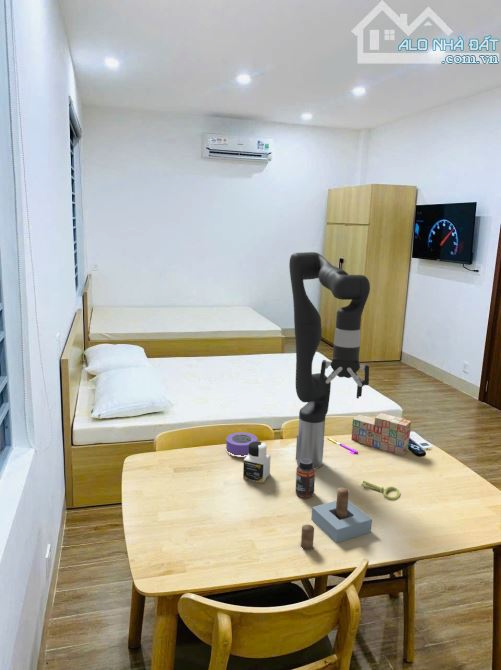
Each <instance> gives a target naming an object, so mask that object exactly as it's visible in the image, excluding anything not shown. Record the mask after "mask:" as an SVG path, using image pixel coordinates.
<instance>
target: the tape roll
mask: <svg viewBox="0 0 501 670" xmlns="http://www.w3.org/2000/svg"><path fill="white" fill-rule="evenodd" d="M225 439H226V444H225V445H226V447H225V448H226V449H227V451H228V452H230V453H232V454H234V455H241V456H244V455H248V450H249V444H250V443H251V442H255V441H258V437H257V436H256V435H255V434H252V433H249V432H233V433H230V434H229V435H227V436H226V438H225Z"/></svg>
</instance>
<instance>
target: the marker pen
mask: <svg viewBox="0 0 501 670" xmlns="http://www.w3.org/2000/svg"><path fill="white" fill-rule="evenodd" d="M326 438H327V437H326ZM327 440H328V441H330V442H332V443H333V444H338V445H339V446H340V447H342V448H344V449H346V450H348V451H349V452H348V453H349V454H351V455H355V454H356V455H358V454H359V451H358V450H356V449H354V448H351V447H349V446H347V445H345V444H343V443H339V442H338V441H337V440H335V439H333V438H330V437H328V438H327Z"/></svg>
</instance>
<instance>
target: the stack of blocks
mask: <svg viewBox="0 0 501 670" xmlns="http://www.w3.org/2000/svg"><path fill="white" fill-rule="evenodd" d="M411 426H412V421H411V420H408V419H404V418H402V417H398V416H394V415H389V414H385V413H382V412H380V413H379V414H378V415H376V416H375V417H374V418H373V417H369V416H365V415H362V414H358V415H357V416H355V417H353V418H352V426H351V427H352V429H351V441H354V442H357V443H360V444H363V445H366V446H370V447H373V448H376V449H380V450H382V451H383V450H384V451H386V452H390V453H393V454H396V455H399V456H403V455H405V454H406V452H407V451H409V443H410V435H411V428H412V427H411Z"/></svg>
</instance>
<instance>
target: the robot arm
mask: <svg viewBox="0 0 501 670" xmlns="http://www.w3.org/2000/svg"><path fill="white" fill-rule="evenodd" d="M289 277H290V283H291V284H290V285H291V290H292V291H291V293H292V298H293V299H292V301H293V303H292V304H293V321H294V323H293V325H294V338H295V353H296V354H295V355H296V356H295V359H296V361H295V391H296V395H297V398H298V399H299V401H300V402H302V403H306V404H305V405H303V406H302V407H301V408H300V409H299V412H298V413H299V414H298V430H297V431H298V432H297V433H298V434H297V435H296V449H295V460H296V463H297V466H299V465H300V460H301V459H303V458H307V459H311V460H312V464H313V465H312V466H313V467H314V468H315V469H319V468H321V467H322V466H323V459H324V447H325V445H324V444H325V430H326V416H327V415H328V411H329V404H330V397H331V390H332V389H331V388H332V381H333V380H334V379H335V378H336V377H338V378H347V379H351V378H352V379H353V381H354V382H355V383H356V384H357V386H356V387H357V388H356V399H357V400H358V399H360V397H362V391H363V387H364V386H369V384H370V364H369V363H365V364H360V349H361V325H362V316H363V312H364V309H365V306H366V303H367V300H368V297H369V295H370V290H371V287H370V286H371V284H370V280H369V278H368V277H367V276H365V275H362V274H349V273H348V272H347V271H345V269H341V268H340V267H337V266H335V265H333V264H332V263H331V262H329V260H327V259H326V258H325V257H324V256H323V255H322V254H320V253H318V252H314V251H310V252H294V253H292V254H291V255H290V257H289ZM314 279H318V281H319V283H320V284H321V286H323V288H326V289H327V290H329V291H330V292H331V294H332V295H333V297H334V298H335V299H338V300H341V301H342V300H343V301H348V300H351V301H350V303H349V304H348V305H347V306H343V307H339V308H338V309H337V311H336V319H335V330H334V337H333V351H332V361H328V360H326V359H323V360H321V364H320V365H321V367H320V372H319V373H313V360H314V357H315V355H316V352H317V350H318V348H319V346H320V343H321V341H322V334H323V330H322V318H321V315H320V313H319V311H318V310H317V308H316V307H315V305H314V304H313V302H312V301H311V299H310V298H309V296H308V294H307V291H306V288H305V284H304V281H306V280H314ZM329 367H330V368H331V369H332V370H333V371H332V372H330V374H329V375H328V376H327V375H326V369H328V368H329ZM360 369H361V371H362V372H363V373H364V380H363V379H362V378H360V375H359V373H357V372H358V371H359V370H360Z"/></svg>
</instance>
